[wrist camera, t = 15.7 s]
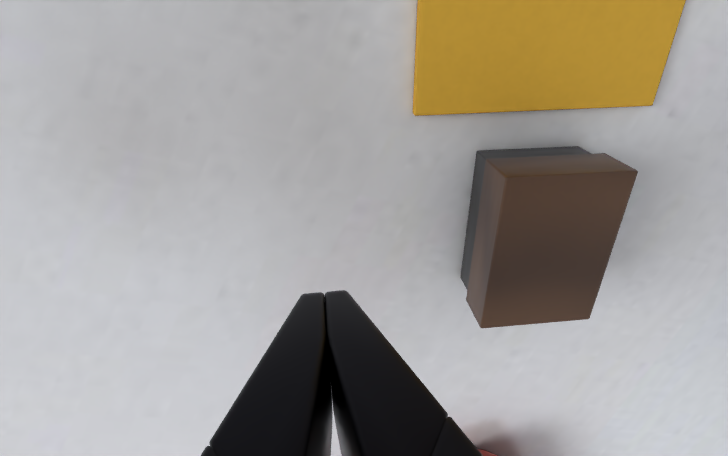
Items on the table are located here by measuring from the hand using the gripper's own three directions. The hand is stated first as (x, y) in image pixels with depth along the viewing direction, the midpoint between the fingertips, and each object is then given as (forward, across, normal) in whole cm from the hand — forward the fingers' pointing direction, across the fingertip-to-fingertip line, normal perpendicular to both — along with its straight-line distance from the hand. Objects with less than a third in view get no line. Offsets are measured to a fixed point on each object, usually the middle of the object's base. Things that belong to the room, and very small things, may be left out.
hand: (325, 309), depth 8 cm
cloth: (+10, -9, -4) cm, 14 cm away
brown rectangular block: (+10, -9, +4) cm, 14 cm away
